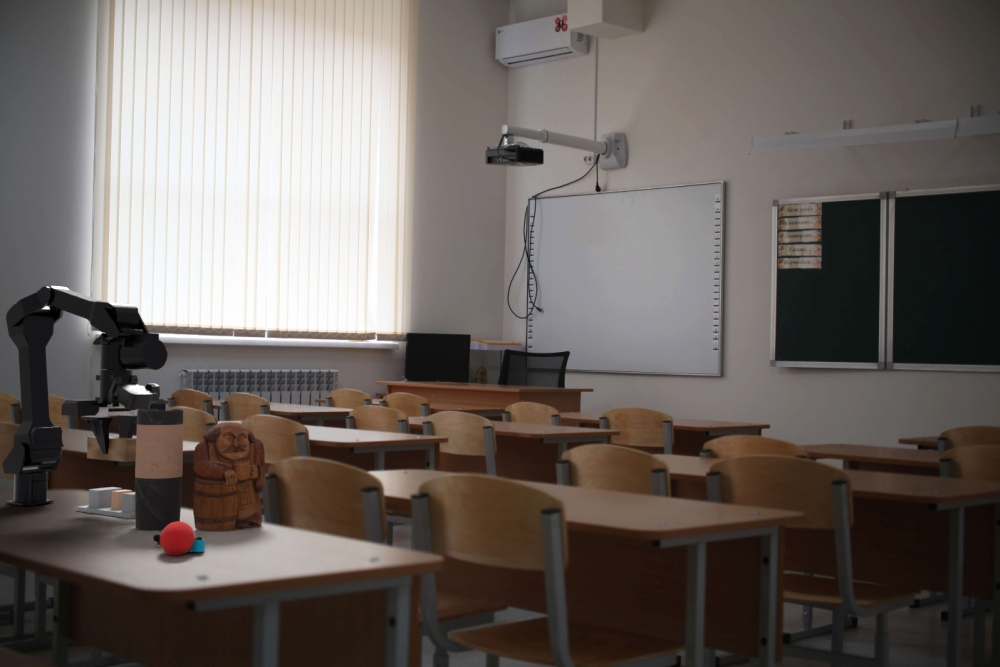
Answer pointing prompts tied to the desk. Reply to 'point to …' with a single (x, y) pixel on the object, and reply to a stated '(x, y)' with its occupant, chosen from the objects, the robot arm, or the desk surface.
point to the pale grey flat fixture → (110, 502)
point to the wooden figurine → (228, 479)
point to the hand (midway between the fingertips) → (114, 453)
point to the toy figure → (179, 539)
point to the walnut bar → (113, 449)
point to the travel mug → (158, 468)
